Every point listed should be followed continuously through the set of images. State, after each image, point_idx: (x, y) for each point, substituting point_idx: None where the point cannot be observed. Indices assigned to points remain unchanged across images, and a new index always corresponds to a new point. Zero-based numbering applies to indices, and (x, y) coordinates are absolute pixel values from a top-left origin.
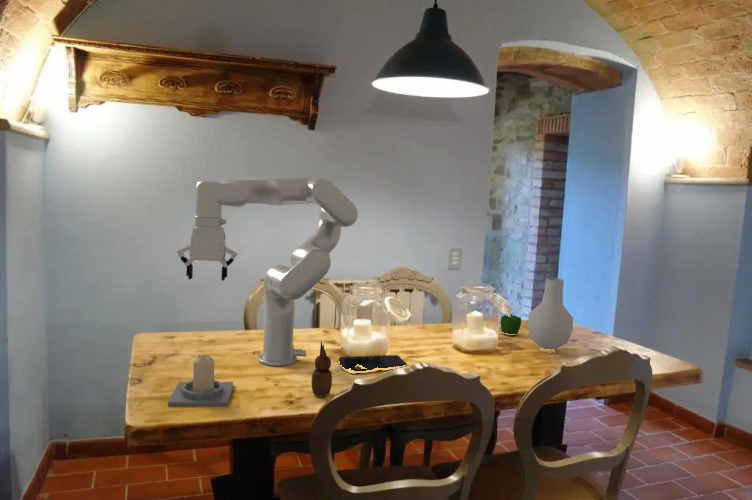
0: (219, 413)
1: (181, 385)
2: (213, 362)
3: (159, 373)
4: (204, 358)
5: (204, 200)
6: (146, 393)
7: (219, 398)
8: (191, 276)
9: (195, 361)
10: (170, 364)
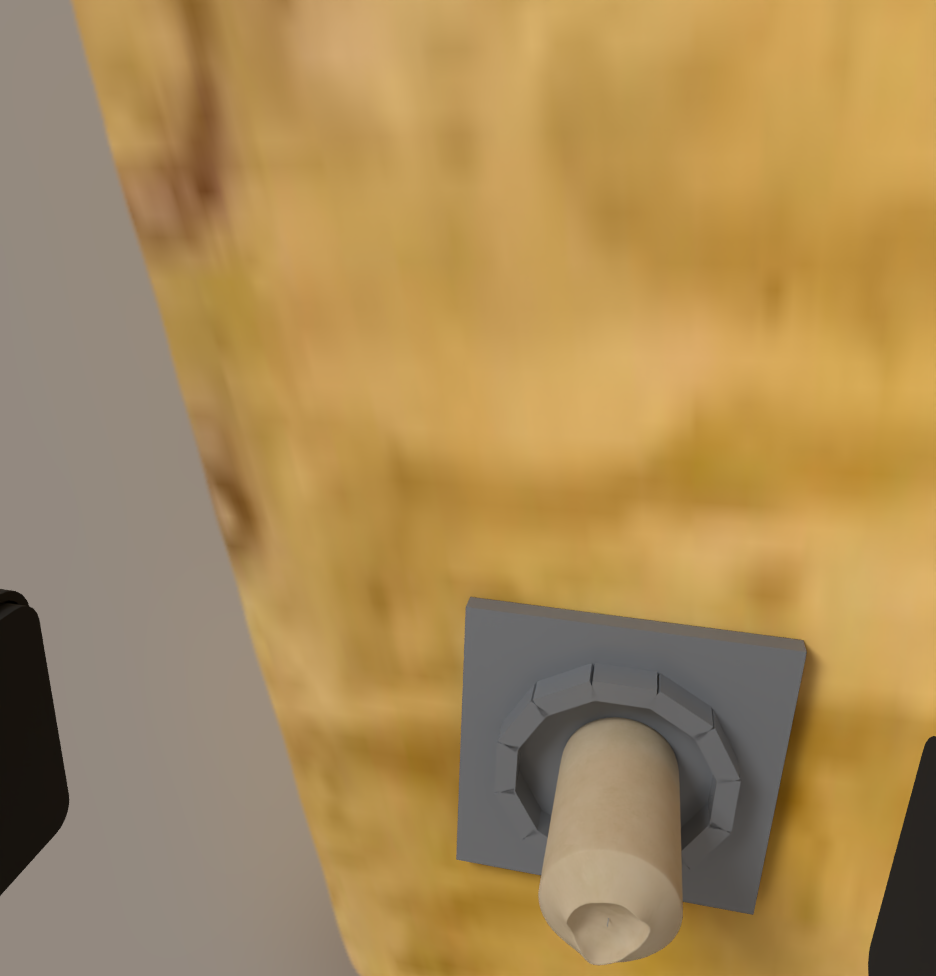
0: (709, 961)
1: (488, 668)
2: (675, 934)
3: (316, 390)
4: (612, 962)
5: None
6: (327, 692)
7: (711, 864)
8: (22, 773)
9: (553, 927)
10: (345, 195)
